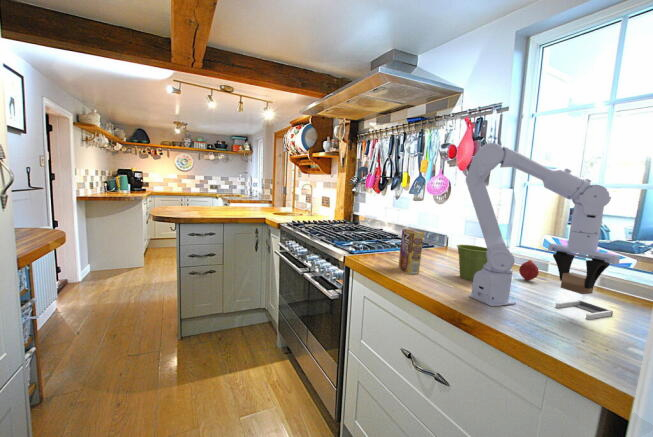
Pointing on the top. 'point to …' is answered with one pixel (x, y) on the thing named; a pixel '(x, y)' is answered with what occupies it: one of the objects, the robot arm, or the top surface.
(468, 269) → the plant pot
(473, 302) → the top surface
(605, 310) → the channel
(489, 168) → the robot arm
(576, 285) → the walnut block
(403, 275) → the top surface
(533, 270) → the pomegranate
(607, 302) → the top surface
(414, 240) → the candy box
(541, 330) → the top surface
